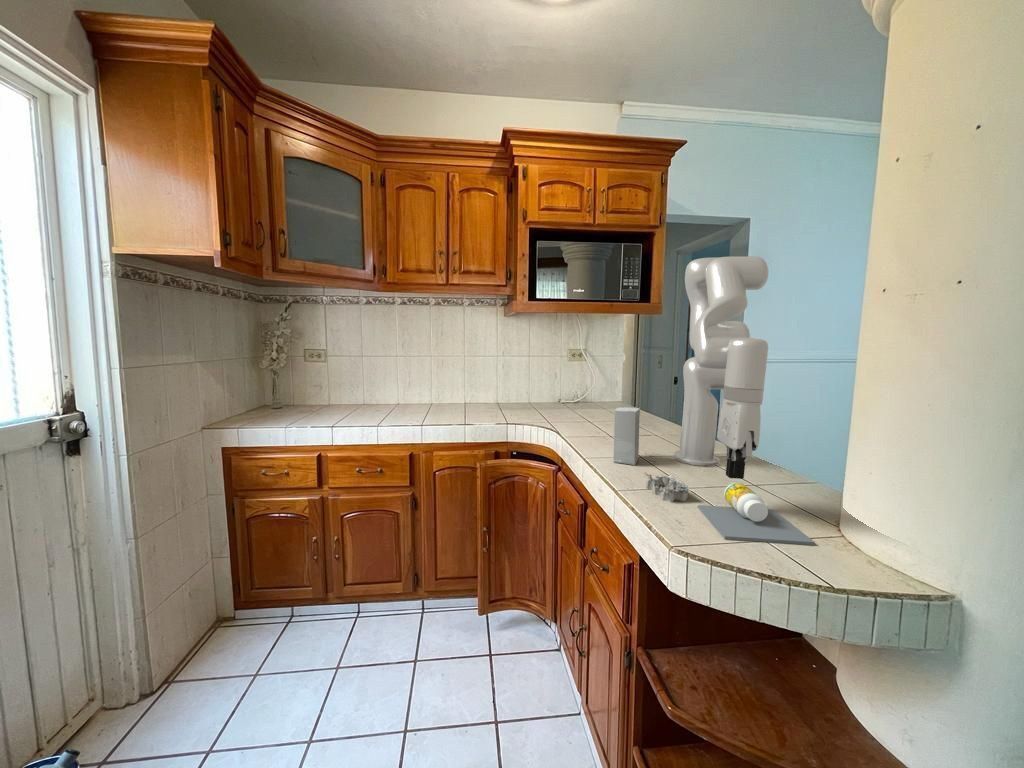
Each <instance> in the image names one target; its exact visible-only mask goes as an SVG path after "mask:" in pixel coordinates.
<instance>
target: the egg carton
mask: <svg viewBox="0 0 1024 768" xmlns="http://www.w3.org/2000/svg"><path fill="white" fill-rule="evenodd" d="M643 474H644V475H646V476H647V479H646V480H645V489H646V490H648V491H652V494H653V495H655V496H660V500H662V501H666V502H668V503H674V501H677V500H678V501H681V502H686V501H687V499H688V497H689V490H690V489H691V488H692V487H691V486H689V485H686V484H684V482H683V481H682V482H681V481H680V480H678V479H677V478H675V476H673V475H662V476H659V475H656V476H655V478H652V474H648V473H647V472H644V473H643ZM663 487H664V488H663Z"/></svg>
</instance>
